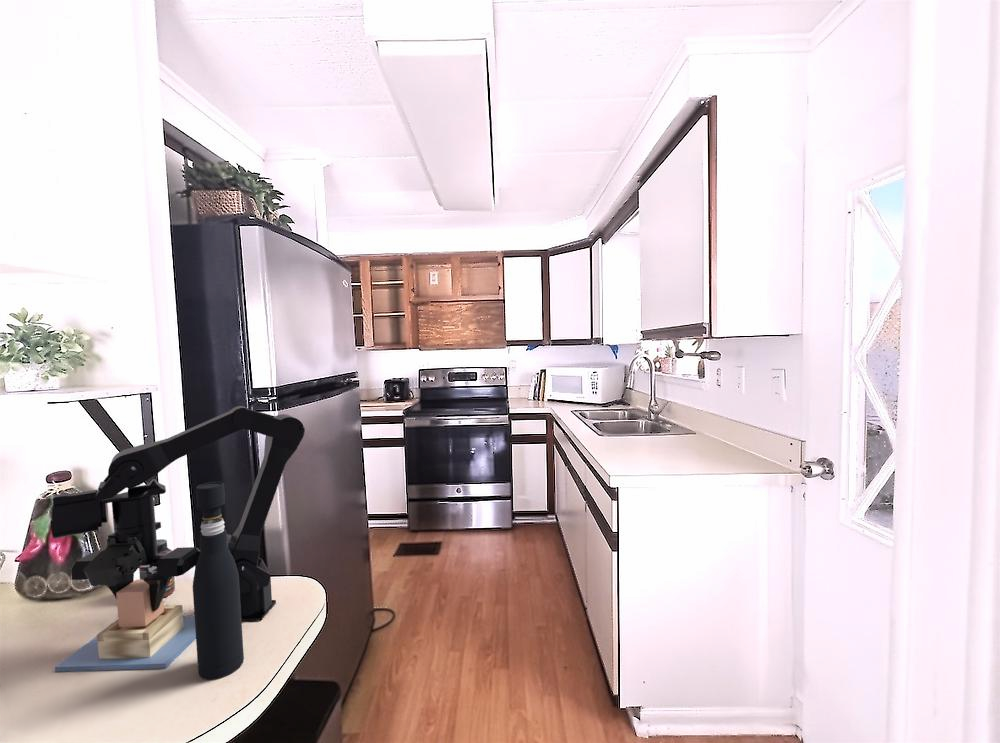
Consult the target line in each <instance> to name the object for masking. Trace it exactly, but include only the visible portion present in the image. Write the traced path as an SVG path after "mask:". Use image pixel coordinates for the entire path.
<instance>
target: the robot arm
mask: <svg viewBox="0 0 1000 743" xmlns="http://www.w3.org/2000/svg"><path fill="white" fill-rule="evenodd" d="M240 430H248V431H250V432H254V433H257V434H260V435H263V436H265V438H264V439H265V440H264V453H263V459H262V462H261V464H260V467H259V469H258V472H257V476H256V477H255V481H254V482H253V486H252V490H251V492H250V494H249V497H248V500H247V503H246V505H245V508H244V511H243V514H242V517H241V519H240V522H239V525H238V527H237V528H236V530H235V531H234V532H233V534H230V533H229V534H228V533H227V545H228V548H229V550H230V552H231V554H232V556H233V558H234V560H235V563H236V567H237V570H238V574H239V587H240V604H241V620H242V622H243V621H244V622H247V621H248V622H250V621H251V622H253V621H261V620H263V619H264V618H265V617H266V616H267V614H268V613H269V612H270V610H272V608H273V607H274V606H275V605H276V603H277V600H276V599H273V596H272V579H271V576H272V575H271V573H270V571H269V569H268V567H267V566H266V564H265V562H264V559H262V558H260V554H261V541H262V540H261V536H262V531H263V529H264V526H265V524H266V521H267V518H268V515H269V512H270V509H271V506H272V503H273V500H274V498H275V495H276V492H277V490H278V487H279V484H280V480H281V478H282V476H283V473H284V469H285V468H286V465H287V463H288V462H289V460H290V458H292V457H293V455H294V454H295V452H296V451H297V449H298V447H299V446H300V445H301V444H300V443H301V442H302V440H303V439H304V436H305V431H306V430H305V426H304V425H303V422H301V420H299V418H296V417H293V416H291V415H289V414H285V413H282V414H277V415H271V414H268V413H264V412H261V411H257V410H253V409H249V408H248V407H246V406H244V405H238V406H234V407H233V408H232V409H231V410H228V411H227V412H224V413H222V414H220V415H218V416H217V415H216V416H215V417H213V418H210V419H208V420H206V421H204V422H201V423H200V424H197V425H195V426H192V427H191V428H188V429H186V430H184V431H182V432H179V433H177V434H175V435H172V436H171V437H168V438H164V439H161V440H157V441H153V442H147V443H143V444H139V445H136V446H133V447H128V448H125V449H122V450H121V451H119V452H117V453H116V454H115V455H114V456H113V457H112V459H111V462H110V464H109V467H108V470H107V471H108V472H107V476H105V478H104V479H103V481H100V482H99V485H98V488H97V489H93V490H86V491H80V492H73V493H67V492H66V493H60V494H59V493H58V494H55V495H54V496H53V497H52V512H51V514H52V515H51V519H50V529H51V535H52V538H53V539H54V540H56V539H61V538H65V537H71V536H76V535H81V534H86V533H92V532H97V531H100V530H101V527H103V523H104V524H106V523H108V522H109V507H108V504H110V503H111V510H112V511H111V512H112V522H113V532H112V533H110V534H109V535H108V536H107V537H108V538H107V539H106V548H104V549H97V550H95V551H93V552H90V553H89V554H87V555H85V556H83V557H81V558H79V559H77V560H75V561H74V563H73V565H72V566H71V568H70V573H71V574H70V575H71V576H70V577H71V580H72V581H73V580H74V581H79V580H82V581H83V580H87V581H88V582H89V584H90V586H91V587H97V586H106V587H107V588H108V589H109V590H110V592H111V593H112V594H113V596H114V598H115V599H116V600H117V596H116V593H117V592H118V591H120V590H121V589H123V588H124V587H126V586H127V585H129V584H130V583H132V582H133V581H135V580H134V578H135V572H136V571H138V569H139V568H152V570H153V571H152V574H151V575H149V576H148V577H146V578H145V579H143V580H144V581H145V582H146V583H148V584H149V589H150V601H151V607H152V611H156V610H157V609H158V608H159V606H160V604H161V601H162V599H163V600H164V598H163V596H164V594H165V591H166V589H167V587H168V584H169V582H170V580H171V578H172V577H174V578H176V577H180V576H184V575H185V574H186V573H187V572H188V571H190V570H191V569H192V568H194V567H196V565H197V561H198V558H199V555H200V548H197V546H190V547H176V548H174V549H173V550H172V551H171V552H170V553H168V554H167V555H158V553H159V552H160V551H162V550H163V546H162V544H159V545H157V540H158V539H157V530H159V529H161V528H162V522H161V521H156V514H155V513H156V512H155V501H154V500H155V499H154V496H157V495H163V494H165V493H166V492H167V488H166V485H164V484H162V483H160V482H159V481H158V480H157V479H156V478H153V479H152V477H154V476H156V475H157V474H159V473H160V472H162V471H163V470H164V469H165V468H167V467H168V466H169V465H171V464H172V463H173V462H175V461H177V460H178V459H181V458H183V457H185V456H186V455H189V454H191V453H193V452H195V451H197V450H199V449H201V448H204V447H206V446H208V445H210V444H213V443H214V442H216V441H217V442H218V441H219V440H221V439H223V438H225V437H227V436H229V435H232V434H234V433H235V432H236V433H237V432H238V431H240ZM150 479H152V480H151V481H150V482H149V483H147V484H144V483H145V482H147V481H148V480H150ZM142 484H143V485H142ZM125 489H127V491H126V492H123V490H125Z"/></svg>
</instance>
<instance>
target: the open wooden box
mask: <svg viewBox="0 0 1000 743" xmlns="http://www.w3.org/2000/svg"><path fill="white" fill-rule="evenodd" d="M163 606H164V612H163V613H161V614H160V615H159V616H158V617H156V618H155V619H154V620H153V621H151V622H150V623H149V624H148V625H147V626H137V627H119V621H118V619H116V620H115V621H114V622H112V623H110V624H109V625H108V626H107V627H105V628H103V630H100V632H98V633H97V634H96V636H97V640H98V652H99V659H110V658H142V657H151V656H152V655H153V654H154V653H156V652H157V651H158V650H159V649H160V648H161V647H162V646H163V645H164V644H166V643H167V642H168V641H169V640H170V639H171V638H172V637H173V636H174V635H175V634H177V633H178V632H179V631H180V630H181V629H182V628H183V627H184V625H183V616H184V613H183V605H182V604H173V605H171V604H170V605H169V604H168V605H164V604H163Z"/></svg>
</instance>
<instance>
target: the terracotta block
mask: <svg viewBox="0 0 1000 743" xmlns="http://www.w3.org/2000/svg"><path fill="white" fill-rule="evenodd" d="M116 596H117V599H116V607H117V620H118V621H119V627H137V626H147V625H148V624H149V623H150V622H151V621H153V620H154V619H155V618H156V617H158V616H159V615H160V614H161V613H163V612H164V598H163V599H162V601H161V604H160V606H159V608H158V609H157V610H156V611H152V607H151V601H150V589H149V584H148V583H146V582H145V581H144V580H143V579H142V580H140V579H135V580H134V581H133V582H132V583H130V584H129V585H127V586H126V587H124V588H123V589H121V590H120V591H118V592H117V593H116Z"/></svg>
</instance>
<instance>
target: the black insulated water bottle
mask: <svg viewBox="0 0 1000 743" xmlns="http://www.w3.org/2000/svg"><path fill="white" fill-rule="evenodd" d="M195 494H196V495H195V498H196V508H197V509H200V510H202V518H201V519H202V520H203V521H201V525H200V529H201V530H200V532H201V533H200V534H199V536H198V537H199V550H200V555H199V558H198V561H197V565H195V568H194V574H193V581H192V599H193V614H194V615H193V616H195V631H196V639H195V643H196V655H197V656H196V657H197V658H196V660H197V671H198V676H199V678H201V679H202V680H206V681H210V680H211V681H212V680H213V681H214V680H217V679H221V678H224V677H226V676H229V675H231V674H233V673H234V672H236V671H237V670H238V669H239V668H240V667H241V666H242V665H243V663H244V661H245V660H244V659H245V657H244V656H245V655H244V640H243V621H242V620H241V604H240V587H239V574H238V570H237V567H236V563H235V560H234V558H233V556H232V554H231V552H230V550H229V548H228V545H227V534H228V530H227V529H226V528H225V527H226V526H225V522H226V521H224V518H223V517H222V516H223V515H222V508H221V506H224V505H225V503H226V494H225V483H224V482H222V481H212V482H211V481H210V482H205V483H201V484H198V485H197V486H196V487H195Z"/></svg>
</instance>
